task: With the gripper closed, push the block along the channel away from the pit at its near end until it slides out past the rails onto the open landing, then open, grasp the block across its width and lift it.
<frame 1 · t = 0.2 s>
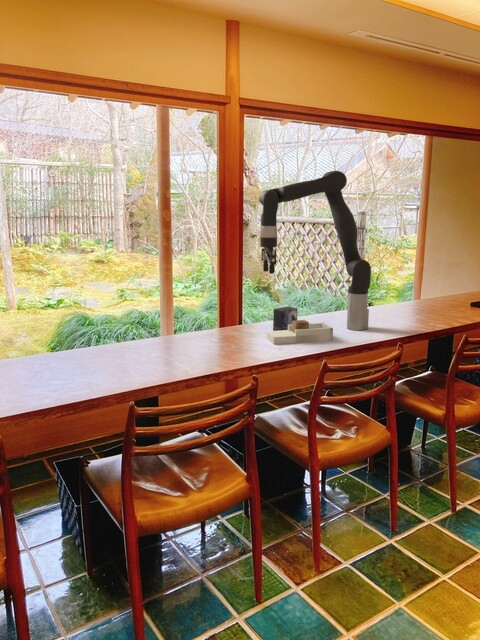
hand: (268, 272, 242), 29 cm above the counter, tool pointing down, fingers open, 8 cm apart
channel: (299, 339, 238), on the counter
small box: (285, 330, 256), on the counter
block: (300, 332, 238), point 3 cm above the counter, touching channel
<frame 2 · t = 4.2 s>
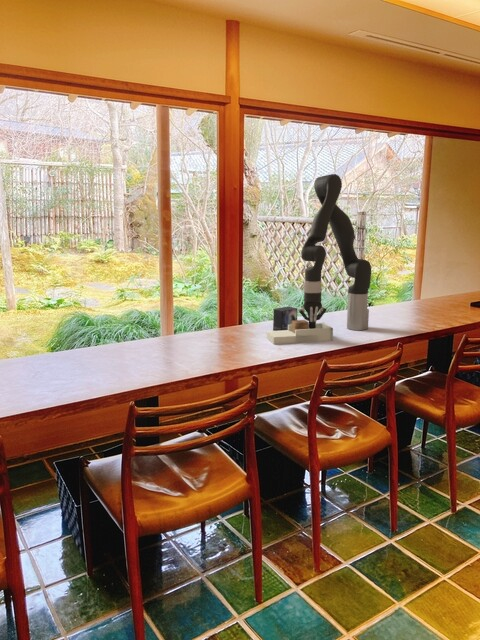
hand: (312, 329, 238), 4 cm above the counter, tool pointing down, fingers closed
block: (299, 332, 238), point 3 cm above the counter, touching gripper
everything else where it was.
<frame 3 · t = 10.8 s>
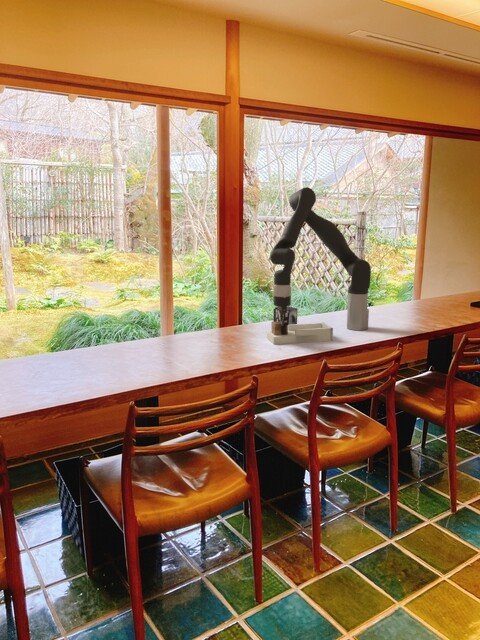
hand: (281, 332, 236), 3 cm above the counter, tool pointing down, fingers closed on block, 5 cm apart
block: (279, 333, 236), point 3 cm above the counter, touching channel, gripper
everything else where it was.
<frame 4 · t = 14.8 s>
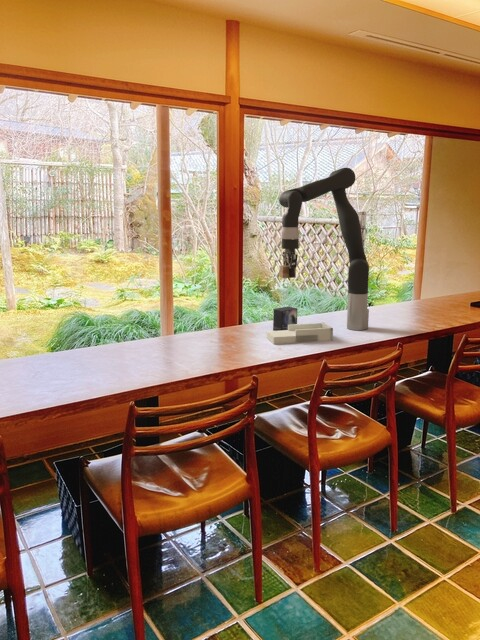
hand: (289, 276, 239), 27 cm above the counter, tool pointing down, fingers closed on block, 5 cm apart
block: (287, 277, 238), point 27 cm above the counter, touching gripper
everything else where it was.
at the end: the gripper is holding block; block point 26.9 cm above the counter; block moved 25.2 cm from its start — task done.
